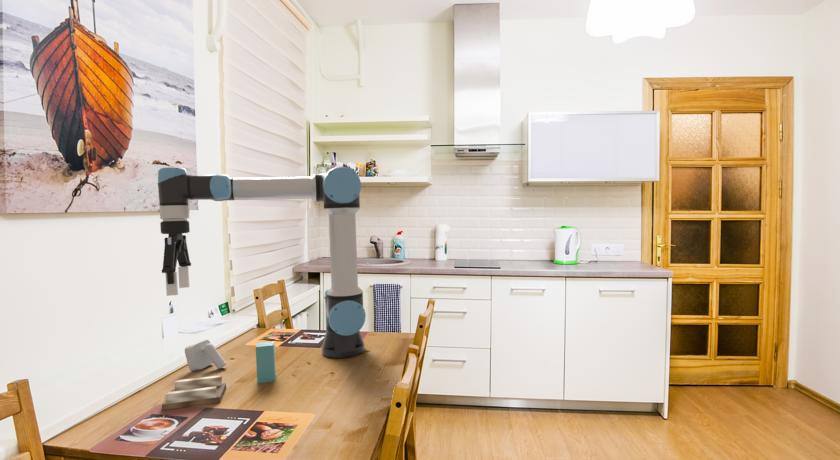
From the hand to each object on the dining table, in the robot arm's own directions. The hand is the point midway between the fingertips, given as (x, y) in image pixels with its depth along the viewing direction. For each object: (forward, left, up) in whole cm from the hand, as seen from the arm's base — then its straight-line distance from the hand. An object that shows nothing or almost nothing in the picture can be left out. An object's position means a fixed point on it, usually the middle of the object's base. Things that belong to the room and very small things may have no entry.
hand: (178, 291), depth 132 cm
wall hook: (-5, -11, -28) cm, 31 cm away
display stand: (-6, +14, -28) cm, 32 cm away
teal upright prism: (-24, +6, -28) cm, 37 cm away
